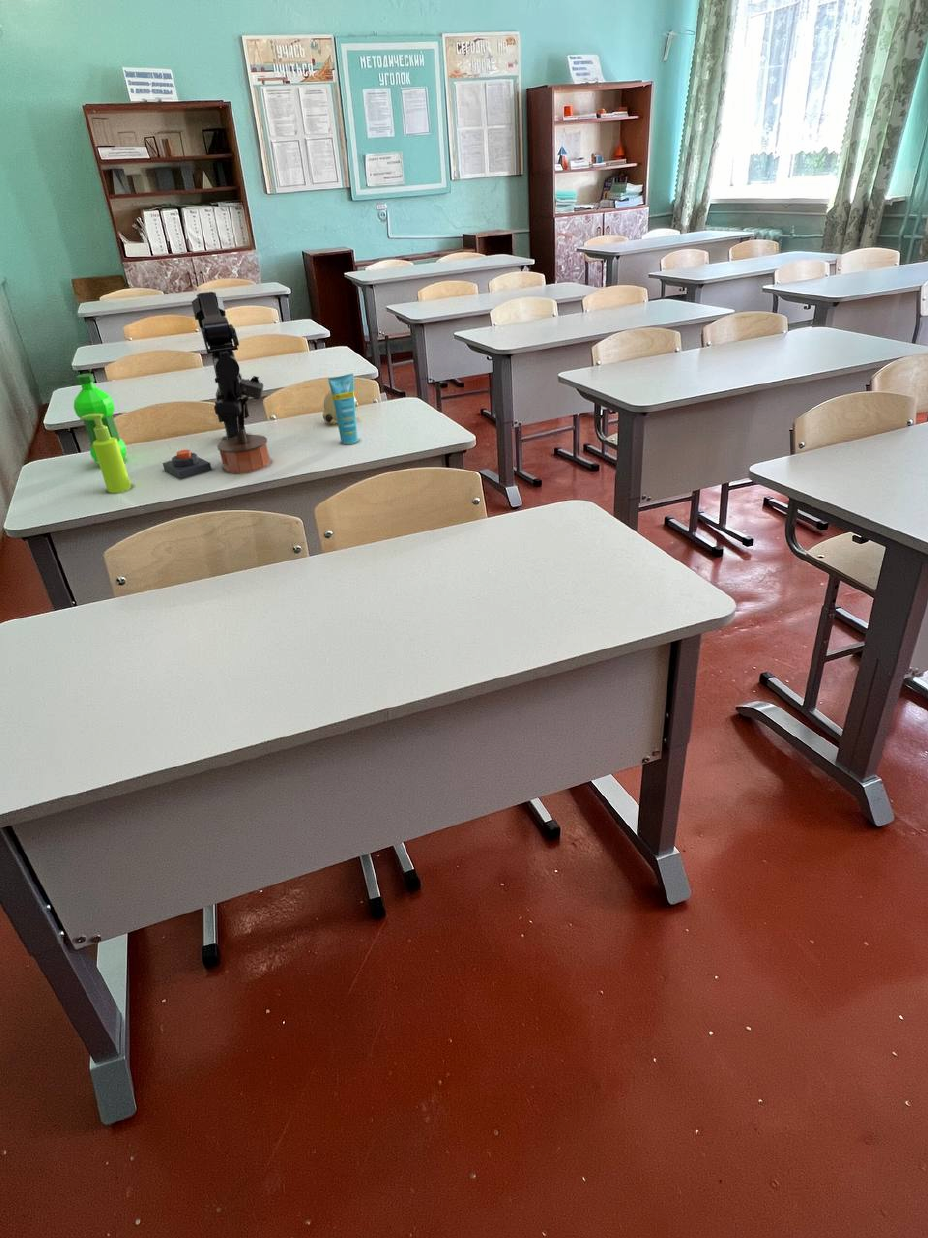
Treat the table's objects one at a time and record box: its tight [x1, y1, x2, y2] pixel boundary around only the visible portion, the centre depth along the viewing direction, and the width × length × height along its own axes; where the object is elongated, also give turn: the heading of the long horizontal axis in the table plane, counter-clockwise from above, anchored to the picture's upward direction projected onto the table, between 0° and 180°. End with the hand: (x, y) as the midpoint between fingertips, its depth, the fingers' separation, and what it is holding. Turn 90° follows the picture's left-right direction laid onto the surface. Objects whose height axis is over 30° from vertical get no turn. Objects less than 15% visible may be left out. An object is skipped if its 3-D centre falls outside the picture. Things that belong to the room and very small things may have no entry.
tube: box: [327, 373, 359, 445], centre depth 218 cm, size 7×5×19 cm, turn 123°
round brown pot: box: [219, 443, 271, 474], centre depth 209 cm, size 12×12×6 cm
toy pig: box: [322, 389, 359, 426], centre depth 238 cm, size 10×12×11 cm
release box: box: [162, 452, 213, 480], centre depth 209 cm, size 11×9×4 cm
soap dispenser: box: [79, 414, 132, 494], centre depth 196 cm, size 6×7×20 cm
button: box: [176, 449, 192, 459], centre depth 208 cm, size 4×4×2 cm
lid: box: [216, 428, 268, 453], centre depth 207 cm, size 13×13×4 cm
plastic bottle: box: [73, 373, 127, 464], centre depth 214 cm, size 10×10×25 cm
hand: (239, 430), depth 206 cm, fingers open, 9 cm apart
